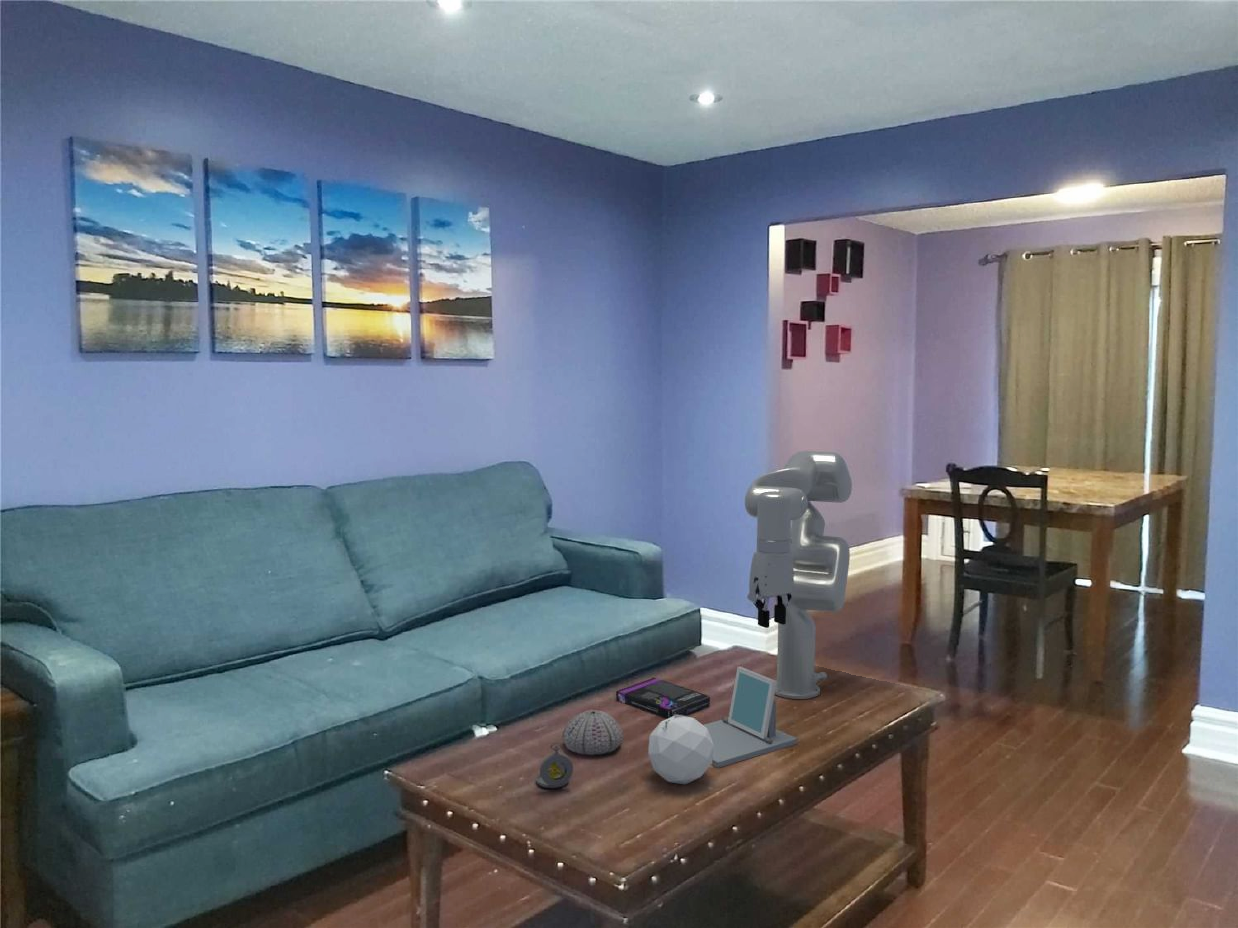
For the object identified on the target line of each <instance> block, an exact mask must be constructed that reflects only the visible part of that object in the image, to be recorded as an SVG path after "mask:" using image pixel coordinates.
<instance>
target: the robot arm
mask: <svg viewBox="0 0 1238 928" xmlns="http://www.w3.org/2000/svg"><path fill="white" fill-rule="evenodd" d="M852 482H853V481H852V478H851V474H850V471H849V469H848V465H847V463H846V461H845V459H844V458H843V457H842V456H841V454H839V453H837V452H833V451H813V450H812V451H809V450H808V451H807V450H803V451H797V452H795V453H794V454H792V456H790V458H789V459H788V460H787V462H786V464H785V465H784V467H783V468H780V469H779V470H774V471H772V472H768V473H766V474H762V475H760V476H758V477H757V478H755V479H754V480H753V482H752V483H751V484H750V485H749V487H748V488H747V491H746V494H745V497H744V507H745V511H746V513H747V514H748V515H749V516H751V517H752V518H756V520H757V522H756V525H757V526H756V551H755V552H753V555H752V559H751V563H750V564H751V565H750V572H749V581H748V582H749V583H748V589H749V592H748V595H747V600H749V601H750V602H751V603H753V605H754V606H755V608H756V610H757V626H759V627H762V628H765V629H768V628H770V616H771V615H770V610H768V608H769V604H770V598H773V597H774V598H775V602H776V604H774V609H773V610H774V611H773V621H774V623H777V657H776V659H777V661H776V681H777V682H776V688H775V694H774V695H776V696H779V697H780V698H781V697H782V698H786V699H791V700H793V699H794V700H806V699H807V700H808V699H809V700H810V699H813V698H815V697H818V696H819V695H820V694H821V688H820V686H819V685H818V684H817V683H818V682H819V681H824V680H827V676H828V675H827V673H826V672H825V671H821V672H815V661H816V660H815V657H816V656H815V655H816V624H815V621H814V619H813V617H812V616H811V614H810V613H809V612H808V611H818V612H819V611H820V612H827V613H828V612H830V613H835V612H839V611H840V610H841V609H842V608H843V605H844V603H845V599H846V598H845V597H846V591H847V584H848V576H849V575H848V574H849V567H850V560H851V559H850V558H851V557H850V556H851V554H850V552H851V551H850V547H849V544H848V542H847V541H846V540H845V539H844V538H842V537H839V536H832V535H831V536H829V535H824V534H825V533H824V532H825V527H826V522H825V519H824V517H823V515H822V514H821V512H820V511H819V510H818V509H817V507H815V505H813V503H812V502H819V503H820V502H821V503H822V502H823V503H836V504H837V503H838V504H839V503H845V502H847V501H848V500H849V498H850V497H851V495H852V489H853V487H852V485H853V484H852Z"/></svg>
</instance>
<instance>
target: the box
mask: <svg viewBox="0 0 1238 928" xmlns="http://www.w3.org/2000/svg"><path fill="white" fill-rule="evenodd" d="M615 699H616V700H615V701H617V702H619V703H622V704H624V705H628V706H629V707H633V708H636V709H639V710H642V711H644V712H648V713H650V714H652V715H656V716H658V717H661V718H663V719H665V720H666V719H668V718H670V717H673V716H674V714H676V715H677V714H678V715H682V716H687V717H688V716H689V715H691V714H694V713H697V712H699V711H702V710H705V709H708V708H710V705H711V704H710V702H711V701H710V700H711V696H710V695H707V694H705V693H702V692H698V691H696V690H692V689H691V688H686V687H684V686H680V685H678V684H675V683H672V682H668V681H665V680H663V679H659V678H657V677H651V678H650V679H646V680H644V681H641V682H638V683H635V684H633V685H631V686H626V687H625V688H621V689H618V690H616V691H615Z"/></svg>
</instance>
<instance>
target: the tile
mask: <svg viewBox="0 0 1238 928" xmlns="http://www.w3.org/2000/svg"><path fill="white" fill-rule="evenodd" d="M735 673H736V674H735V679H734V684H733V685H734V686H733V690H732V696H731V701H730V707H729V713H728V717H727V718H728V722H729V723H731V724H733V725H735V726H737V727H739V728H741V729H744V730H746V731H748V732H750V733H752V734H754V735H756V736H758V737H760V738H762V739H765V738H766V737H767V733H768V727H769V722H770V716H771V710H772V705H773V699H774V700H775V695H776V694H775V688H776V682H777V680H775V679H772V678H770V677H767V676H764V675H762V674H759V673H758V672H755V671H752V670H750V669H747V668H746V667H745V668H744V667H743V666H737V667H736V672H735Z"/></svg>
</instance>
